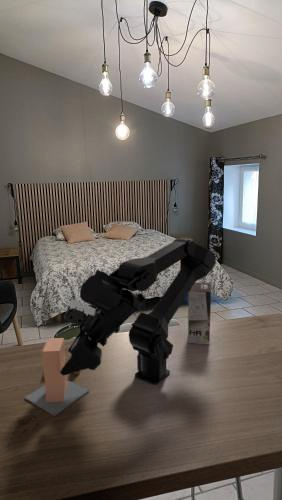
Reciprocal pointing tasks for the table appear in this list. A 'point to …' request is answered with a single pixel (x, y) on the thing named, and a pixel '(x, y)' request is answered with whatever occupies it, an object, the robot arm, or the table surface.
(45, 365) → the thick orange-brown block
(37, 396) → the slate mat
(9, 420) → the table surface
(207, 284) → the coffee box
